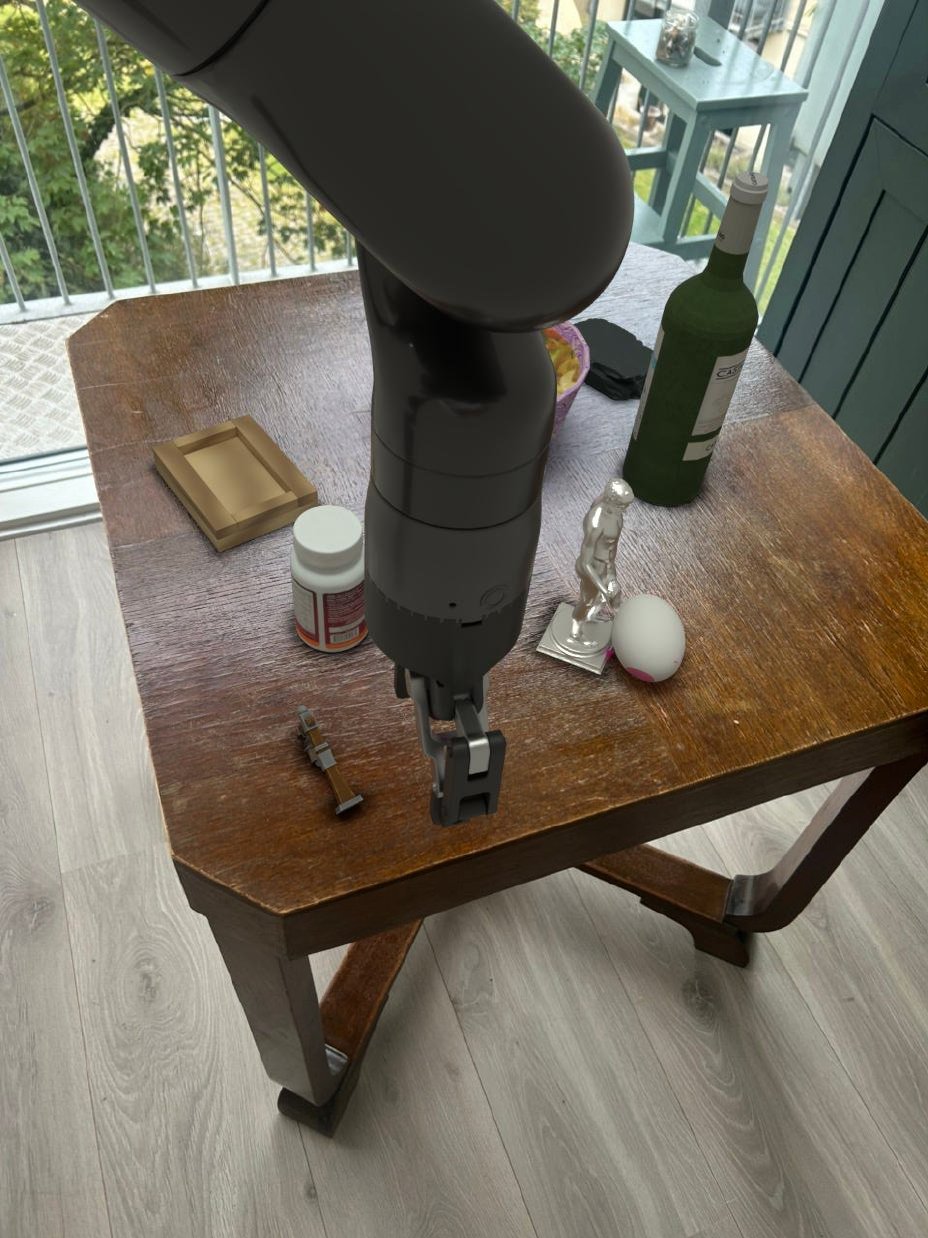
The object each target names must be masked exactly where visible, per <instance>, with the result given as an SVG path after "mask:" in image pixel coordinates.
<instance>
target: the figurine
mask: <svg viewBox="0 0 928 1238" xmlns="http://www.w3.org/2000/svg"><path fill="white" fill-rule="evenodd" d="M634 501H635V494H634V493H633V492H632V489H631V487H630V486H629V485H628V483H627V482H625V480H623V478H621V477H614V478H611V479H609V481H607V483H606V484H605V487H604V492H602V493H601V494H599V495H598V496H597V497H596V498H595V499H594V500H593V501H592V503H591V504H590V507H589V510H588V511H587V512H586V513H585V515H584V517H583V520H582V531H583V534H584V535H583V539H582V542H581V546H580V551H579V556H578V557H577V558H576V560H575V563H574V570H575V573H576V575H577V577H578V578H579V579H580V582H579V594H580V597H579V601H578V602H577V603H576V604H575V605H571V604H568V603H566V602H563V601H561V602H560V603H559V604H558V605H557V606H558V607H557V608H556V610H555V612H554V614H553V616H552V618H551V620H550V622H549V624H548V626H547V627H546V630H545V631H544V634H543V635H542V637H541V639H540V641H539V643H538V645H537V647H536V649H535V651H536V652H539V653H541V654H544V655H547V656H549V657H551V658H554V659H556V660H560V661H562V662H564V663H567V664H570V665H572V666H575V667H577V668H581V669H583V670H585V671H588V672H591V673H593V674H595V675H597V676H601V674H602V672H603V670H604V668H605V665H606V664H607V661H608V659H607V650H608V651H613V649H614V647H613V642H612V624H613V620H612V619H611V617H610V615H609V614H605V613H602V612H601V611H602V610H603V608H605V607H606V606H608V607H609V609H610V610H611V611H612V612H613V613H614V615H615V614H616V612H617V613H619V612H618V611H620V610H619V609H620V606H621V604H622V603H623V602H624V600H622V597H621V595H622V586H621V584H620V582H619V581H618V580H617V577H618V576H617V575H618V574H617V567H616V561H615V560H616V557H617V553H618V544H619V541H620V537H621V534H622V530H623V527H624V516H623V514H626V513H627V511H628V508H630V505H631V504H633V502H634ZM618 608H619V609H618ZM617 610H618V611H617ZM600 612H601V613H600Z"/></svg>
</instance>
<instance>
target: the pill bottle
mask: <svg viewBox="0 0 928 1238" xmlns="http://www.w3.org/2000/svg"><path fill="white" fill-rule="evenodd" d="M292 537H293V538H292V539H293V541H292V543H293V548H292V549H291V552H290V556H289V572H290V581H291V582H290V583H291V590H292V591H291V592H292V601H293V602H292V603H293V610H294V611H293V614H294V623H295V624H294V625H295V630H296V632H297V635H298V636H299V637H300V639H301V640H302V641H303V643H305V644H306V645H307V646H309V647H311V648H312V649H315V650H317V651H321V652H326V653H339V652H343V651H346V650H349V649H352V648H354V647H355V646H357V645H359V644H360V642H362V641H363V640H364V638H365V637H367V634H368V633H369V632H368V629H367V626H366V622H365V616H364V529H363V525H362V522H361V520H360V518H359V517H358V516H357V514H355V513H354V512H353V511H351V510H350V509H348V508H345V507H343V506H339V505H333V504H332V505H331V504H326V505H318V507H314V508H311V509H309V510H307V511H305V512H304V513H302V514H301V515H300V516H299V517H298V518H297V520H296V521H295V522H294V524H293V527H292Z"/></svg>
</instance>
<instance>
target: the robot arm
mask: <svg viewBox="0 0 928 1238" xmlns="http://www.w3.org/2000/svg"><path fill="white" fill-rule="evenodd" d="M70 1H71V2H72V3H74V4H75V5H76V6H78V7H79V8H80V9H81V10H83V11H84V12H85V13H86V14H88V15H89V16H90V17H92V18H93V19H94V20H95V21H96V22H98V23H99V24H100V25H102V26H103V27H105V28H106V29H107V30H108V31H110V32H111V33H112V34H113V35H115V36H116V37H117V38H119V39H120V40H121V41H123V42H124V43H125V44H126V45H127V46H129V47H130V48H131V49H133V50H134V51H135V52H137V53H138V54H139V55H140V56H141V57H143V58H144V59H146V60H147V61H148V62H150V63H151V64H152V65H153V66H155V67H156V68H157V69H159V70H160V71H161V72H162V73H164V74H166V75H168V77H169V78H171V79H172V80H173V81H175V82H176V83H178V84H179V85H180V86H182V87H183V88H184V89H186V90H187V91H188V92H189V93H191V94H192V95H194V96H195V97H197V99H199V100H201V101H203V102H204V103H206V104H208V105H209V106H210V107H212V108H214V109H215V110H216V111H218V112H219V113H221V114H222V115H223V116H225V117H226V118H228V119H229V120H230V121H232V122H233V123H234V124H235V125H237V126H238V127H239V128H240V129H242V130H243V131H244V132H245V133H247V135H249V136H250V137H251V138H252V139H253V140H255V141H256V142H257V143H258V144H259V145H261V146H262V148H264V149H265V150H266V151H267V152H268V153H269V154H270V156H272V157H273V158H274V159H275V160H276V161H277V162H278V163H279V164H280V165H281V166H282V167H283V168H284V169H285V171H287V172H288V173H289V174H290V176H291V177H292V178H293V179H294V180H295V182H297V183H298V184H299V185H300V186H301V187H302V188H303V189H304V191H306V192H307V193H308V194H309V195H310V196H311V197H312V198H313V199H314V200H315V201H316V202H317V203H318V204H319V205H320V206H321V207H322V208H324V210H325V211H326V212H328V213H329V214H330V215H331V216H332V218H334V219H335V220H336V222H338V223H339V224H340V225H341V226H342V227H343V228H344V229H345V230H346V231H347V232H348V233H349V234H350V235H351V236H352V237H353V238H354V239H353V240H354V247H355V253H356V262H357V268H358V276H359V282H360V290H361V296H362V301H363V307H364V314H365V319H366V326H367V331H368V337H369V344H370V351H371V360H372V361H371V362H372V376H373V380H372V381H373V382H372V391H371V400H370V401H371V402H370V403H371V404H370V471H369V480H368V485H367V490H366V496H365V501H364V514H363V521H364V522H363V543H364V616H365V622H366V626H367V629H368V632H367V633H368V634H369V636H370V638H371V640H372V641H373V643H374V644H375V646H376V647H377V648H378V649H379V650H380V652H381V653H382V654H383V655H384V656H386V657H387V658H388V659H390V661H392V662H394V666H393V667H394V668H393V669H394V670H393V689H394V692H395V696H396V698H397V699H401V700H404V699H409V698H410V699H411V700H412V701H413V710H414V719H415V728H416V735H417V743H418V747H420V749H421V751H422V752H423V753H424V755H425V756H426V757H428V758H429V761H430V771H431V779H432V781H431V782H430V785H431V792H430V799H429V800H430V802H429V811H428V812H429V815H430V819H431V822H432V825H434V826H441V828H442V829H444V828H448V827H453V826H457V825H462V824H463V825H464V824H467V823H469V822H470V820H471V819H472V818H477V817H481V816H490V815H496V814H497V812H498V811H497V810H498V804H499V798H500V791H501V785H502V779H503V773H504V766H505V760H506V753H507V739H506V737H505V735H504V733H503V731H502V730H501V729H494V730H490V723H489V713H488V703H487V702H488V701H487V692H488V691H489V690H490V685H491V682H490V674H489V671H490V670H491V669H493V667H495V666H496V665H497V664H498V663H500V662H501V661H502V660H503V659H505V657H506V656H507V655H508V654H509V653H510V652H511V651H512V650H513V648H514V647H515V645H516V644H517V642H518V640H519V637H520V635H521V633H522V629H523V624H524V619H525V613H526V607H527V602H528V597H529V592H530V589H531V582H532V577H533V573H534V566H535V561H536V556H537V552H538V546H539V541H540V535H541V529H542V516H543V515H542V514H543V487H544V480H545V475H546V469H547V464H548V458H549V453H550V447H551V444H552V443H551V437H552V432H553V427H554V420H555V412H556V404H557V378H556V372H555V368H554V365H553V362H552V359H551V357H550V354H549V351H548V349H547V347H546V344H545V342H544V339H543V337H542V334H541V332H540V331H541V330H545V329H549V328H551V327H554V326H557V325H560V324H562V323H564V322H566V321H570V320H571V319H573V318H575V317H577V316H578V315H580V314H581V313H583V312H584V311H585V310H587V309H588V308H590V306H591V305H593V303H594V302H596V301H597V300H598V299H599V298H600V297H601V296H602V294H603V293H604V292H605V291H606V290H607V289H608V287H609V286H610V284H611V283H612V281H613V280H614V278H615V276H616V275H617V273H618V272H619V270H620V268H621V265H622V263H623V262H624V258H625V256H626V253H627V250H628V247H629V244H630V241H631V237H632V233H633V226H634V221H635V208H636V207H635V205H636V204H635V189H634V188H635V187H634V179H633V174H632V169H631V167H630V162H629V159H628V157H627V154H626V151H625V148H624V146H623V144H622V142H621V139H620V137H619V135H618V134H617V132H616V130H615V129H614V127H613V126H612V124H611V123H610V121H609V120H608V119H607V118H606V116H605V115H604V114H603V112H602V111H601V110H600V109H599V108H598V106H596V105H595V103H594V102H593V101H592V100H591V99H590V98H589V96H587V94H585V93H584V91H583V90H582V89H581V88H580V87H579V86H578V85H577V84H576V83H575V82H574V81H573V80H572V79H571V78H570V77H569V75H568V74H567V73H566V72H565V71H564V70H563V69H562V68H561V67H560V66H559V65H558V64H557V63H556V62H555V61H554V60H553V58H551V57H550V56H549V54H548V53H547V52H546V51H544V49H543V48H542V47H541V46H540V45H539V44H538V43H537V42H536V41H535V40H534V39H533V38H532V37H531V36H530V35H529V34H528V33H527V32H526V30H524V28H523V27H522V26H520V24H519V23H518V22H517V21H516V20H515V19H513V18H512V16H511V15H510V14H509V13H507V11H506V10H505V9H504V8H503V7H502V6H501V5H500V4H499V3H498V2H497V1H496V0H70ZM550 443H551V444H550ZM431 720H434V721H438V722H454V725H455V729H453V730H448V731H441V732H436V733H433V731H432V723H431Z"/></svg>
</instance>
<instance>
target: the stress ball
mask: <svg viewBox="0 0 928 1238" xmlns="http://www.w3.org/2000/svg"><path fill="white" fill-rule="evenodd" d="M663 597H664V595H662V596H661V597H659V596H658V595H654V594H650V593H639V594H634V595H632V596H630V597H628V598H627V599H625V600H623V602H622V603H620V605H619V607H620V609H619V608H618V609H619V610H620V611H618V610H617V611H618V612H619V613H617V612H616V614H615V613H614V616H613V620H612V621H613V624H612V642H613V649H612V650H611V651H608V650H607V660H609V659H610V657H611V656H612V654H613V653H615V655H616V657H617V659H618V661H619V663H620V664H621V666H622V667H623V668H624V669H625V670H626V671H627V672H628V673H629V674H631V676H633V677H635V678H636V679H639V680H641V681H643V682H649V683H658V682H662V681H665V680H667V679H668V678H671V676H673V675H674V674H675V673H676V672H677V671H678V669H679V668H680V666H681V665H682V663H683V660H684V657H685V652H686V644H687V643H686V641H687V640H686V633H685V629H684V625H683V623H682V621H681V618H680V616H679V615H678V613H677V611H675V609H674V608H673V607H672V606H671V604H670V603H669V602H667V601H666V600H664V599H663Z"/></svg>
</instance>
